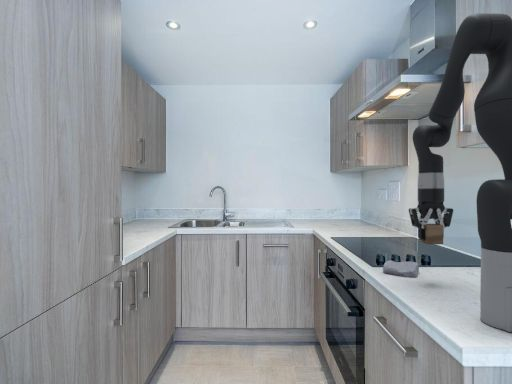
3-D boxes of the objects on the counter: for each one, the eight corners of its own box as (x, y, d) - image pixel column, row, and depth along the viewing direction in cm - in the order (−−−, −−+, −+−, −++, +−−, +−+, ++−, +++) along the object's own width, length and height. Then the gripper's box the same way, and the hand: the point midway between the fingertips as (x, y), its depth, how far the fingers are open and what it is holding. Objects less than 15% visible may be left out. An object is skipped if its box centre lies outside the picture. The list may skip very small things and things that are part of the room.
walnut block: (443, 244, 102) (443, 225, 102) (427, 244, 102) (427, 225, 102) (433, 241, 107) (433, 223, 107) (418, 241, 107) (418, 223, 107)
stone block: (418, 284, 112) (419, 271, 121) (417, 271, 111) (419, 259, 120) (381, 280, 118) (385, 268, 127) (380, 268, 117) (384, 257, 126)
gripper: (415, 187, 100) (415, 242, 100) (460, 187, 101) (460, 241, 101) (403, 187, 108) (403, 238, 108) (444, 187, 109) (444, 238, 109)
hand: (430, 239), depth 105 cm, fingers closed on walnut block, 5 cm apart
